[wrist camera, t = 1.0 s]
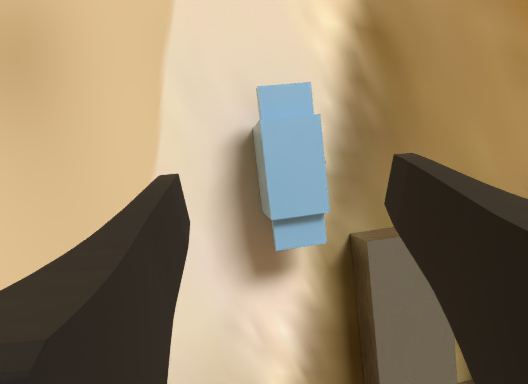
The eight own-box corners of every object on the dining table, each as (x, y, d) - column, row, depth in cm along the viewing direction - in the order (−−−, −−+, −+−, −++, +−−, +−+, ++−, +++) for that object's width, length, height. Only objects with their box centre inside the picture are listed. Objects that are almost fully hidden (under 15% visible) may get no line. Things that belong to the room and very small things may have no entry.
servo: (313, 232, 26) (333, 245, 22) (265, 239, 26) (275, 254, 21) (299, 94, 25) (316, 78, 21) (248, 99, 25) (255, 83, 20)
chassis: (550, 434, 31) (586, 462, 28) (373, 480, 28) (391, 517, 25) (540, 205, 29) (577, 209, 26) (350, 233, 26) (367, 241, 23)
